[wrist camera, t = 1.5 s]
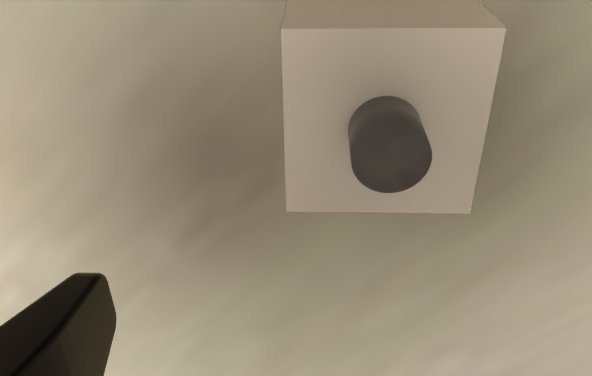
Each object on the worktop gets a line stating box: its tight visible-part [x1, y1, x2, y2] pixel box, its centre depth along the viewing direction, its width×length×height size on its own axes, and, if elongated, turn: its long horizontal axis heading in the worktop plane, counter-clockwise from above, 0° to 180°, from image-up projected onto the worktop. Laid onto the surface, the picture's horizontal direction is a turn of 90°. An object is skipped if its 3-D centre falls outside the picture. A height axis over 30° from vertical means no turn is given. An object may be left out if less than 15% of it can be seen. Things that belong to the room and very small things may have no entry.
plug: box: [281, 0, 507, 214], centre depth 15 cm, size 5×5×8 cm
